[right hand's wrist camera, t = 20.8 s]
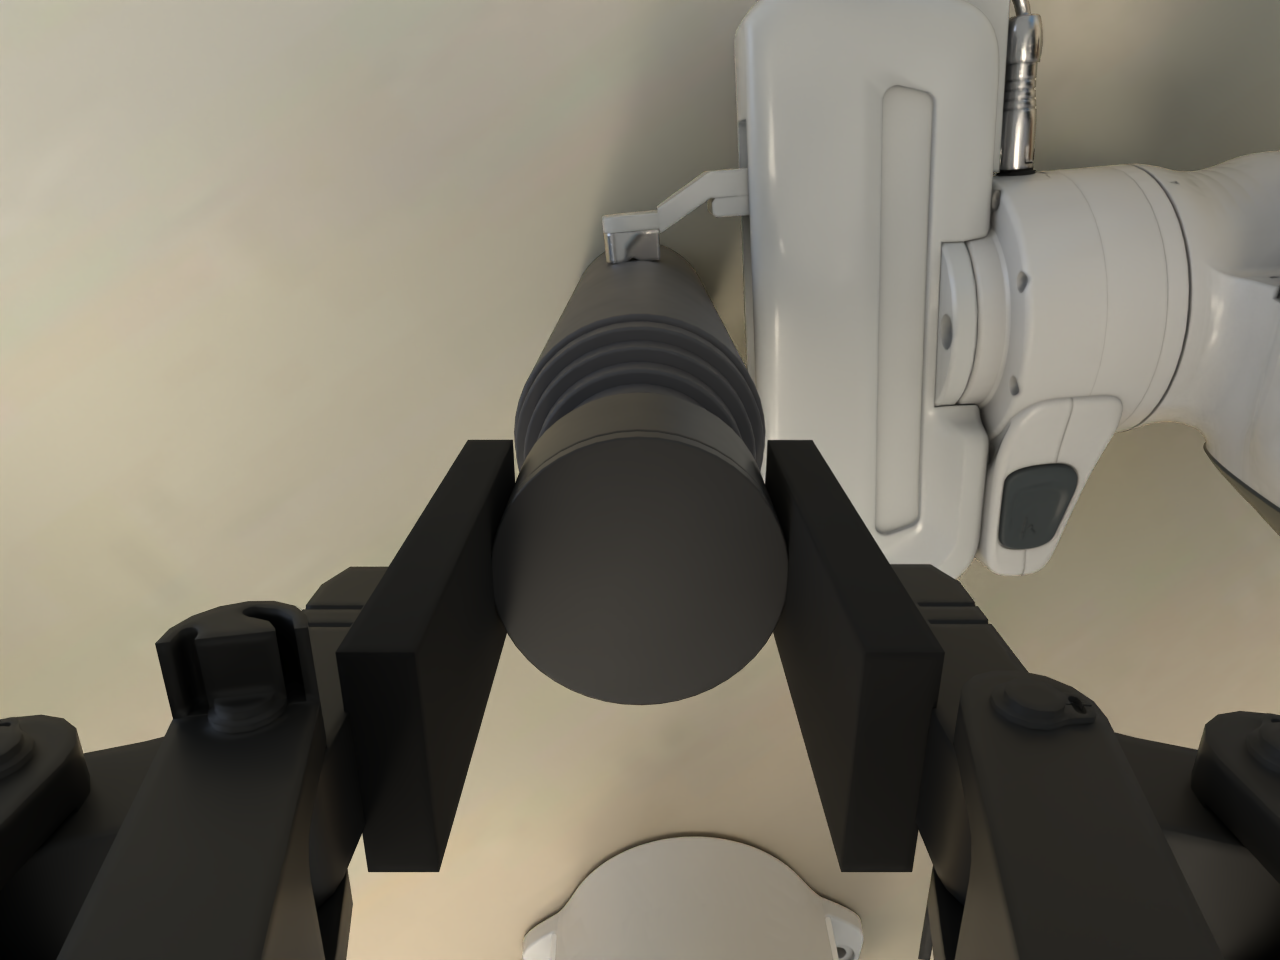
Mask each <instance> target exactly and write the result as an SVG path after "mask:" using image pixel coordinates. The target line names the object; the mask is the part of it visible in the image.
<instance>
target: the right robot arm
mask: <svg viewBox="0 0 1280 960" xmlns="http://www.w3.org/2000/svg"><path fill="white" fill-rule="evenodd" d="M514 485H515V471H514V453H513V440H468V441H467V442H466V444H465V445H464V447H463V449H462V450H461V452H460V453H459V455H458V457H457V458H456V460H455V461H454V463H453V465H452V466H451V468H450V469H449V471H448V473H447V474H446V476H445V477H444V479H443V481H442V482H441V484H440V485H439V487H438V489H437V490H436V492H435V493H434V495H433V497H432V498H431V500H430V502H429V503H428V505H427V506H426V508H425V510H424V511H423V513H422V514H421V516H420V518H419V519H418V521H417V522H416V524H415V526H414V527H413V529H412V530H411V532H410V534H409V535H408V537H407V538H406V540H405V542H404V543H403V545H402V546H401V548H400V550H399V551H398V553H397V554H396V556H395V558H394V559H393V561H392V562H391V564H390V566H389V567H349V568H347V569H346V570H344V571H343V572H341V573H339V574H338V575H336V576H335V577H333V578H331V579H330V580H328V581H327V582H325V583H323V584H322V585H321V586H320V587H319V589H318V590H317V591H316V593H315V594H314V595H313V597H312V598H311V599H310V601H309V602H308V603H307V605H306V609H303V610H302V611H301V610H300V609H298V608H297V607H296V606H294V605H289V604H285V603H281V602H276V601H247V602H241V603H236V604H230V605H225V606H219V607H217V608H214V609H211V610H208V611H205V612H202V613H199V614H196V615H194V616H191V617H189V618H188V619H186V620H184V621H182V622H181V623H179V624H177V625H175V626H174V627H172V628H170V629H169V630H168V631H167V632H166V633H165V634H164V635H163V636H162V637H161V638H160V639H159V640H158V641H157V642H156V643H155V645H156V649H157V653H158V658H159V662H160V666H161V670H162V674H163V679H164V683H165V687H166V691H167V696H168V700H169V704H170V708H171V712H172V717H173V720H172V722H171V724H170V726H169V728H168V730H167V733H166V735H165V737H161V738H157V739H153V740H149V741H145V742H140V743H135V744H130V745H125V746H119V747H114V748H109V749H104V750H99V751H94V752H89V753H84V754H83V750H82V747H81V743H80V740H79V737H78V733H77V730H76V728H75V727H74V726H73V725H71V724H70V723H69V722H68V721H66V720H65V719H64V718H58V717H52V716H45V715H34V716H24V717H10V718H5V719H1V720H0V960H346V956H347V948H348V940H349V932H350V923H351V915H352V907H353V902H352V895H351V888H350V882H349V876H348V869H347V868H348V866H349V863H350V861H351V859H352V856H353V854H354V851H355V849H356V847H357V844H358V842H359V839H360V837H361V834H363V840H364V847H365V854H366V860H367V867H368V872H439V870H440V867H441V863H442V860H443V856H444V853H445V849H446V846H447V842H448V839H449V835H450V832H451V828H452V825H453V821H454V818H455V814H456V810H457V807H458V803H459V800H460V796H461V793H462V789H463V786H464V782H465V779H466V775H467V772H468V768H469V765H470V761H471V758H472V754H473V751H474V747H475V744H476V740H477V737H478V733H479V729H480V726H481V722H482V719H483V715H484V712H485V708H486V705H487V701H488V698H489V694H490V691H491V687H492V684H493V680H494V677H495V673H496V670H497V666H498V663H499V659H500V656H501V652H502V648H503V645H504V641H505V638H506V634H507V632H506V630H505V628H504V626H503V624H502V622H501V619H500V617H499V615H498V612H497V609H496V606H495V601H494V588H493V573H492V557H491V556H492V545H493V542H494V538H495V535H496V531H497V528H498V526H499V523H500V521H501V518H502V515H503V513H504V510H505V508H506V505H507V503H508V500H509V498H510V495H511V493H512V490H513V488H514ZM765 485H766V488H767V491H768V493H769V496H770V498H771V501H772V503H773V506H774V509H775V511H776V514H777V517H778V519H779V522H780V524H781V527H782V530H783V533H784V536H785V539H786V543H787V549H788V555H789V563H788V579H787V592H786V601H785V605H784V608H783V612H782V614H781V616H780V619H779V621H778V623H777V625H776V628H775V629H774V631H773V633H774V637H775V640H776V644H777V647H778V651H779V654H780V658H781V662H782V665H783V669H784V672H785V676H786V679H787V683H788V686H789V690H790V693H791V697H792V700H793V704H794V707H795V711H796V714H797V718H798V721H799V725H800V728H801V732H802V735H803V739H804V742H805V746H806V750H807V753H808V757H809V760H810V764H811V767H812V771H813V774H814V778H815V781H816V785H817V788H818V792H819V795H820V799H821V802H822V806H823V809H824V813H825V816H826V820H827V823H828V827H829V831H830V834H831V838H832V841H833V845H834V848H835V852H836V855H837V859H838V862H839V866H840V869H841V872H912V869H913V862H914V856H915V849H916V843H917V836H918V829H919V832H920V834H921V837H922V839H923V841H924V844H925V846H926V849H927V851H928V853H929V856H930V858H931V861H932V863H933V869H932V876H931V882H930V888H929V894H928V900H927V907H926V913H925V919H924V925H923V931H922V938H921V944H920V951H919V958H918V959H922V960H930V956H931V951H932V946H933V955H934V960H1280V715H1276V714H1270V713H1256V712H1245V711H1237V712H1231V713H1225V714H1219V715H1217V716H1215V717H1214V718H1213V719H1212V720H1210V721H1209V722H1208V723H1207V724H1205V728H1204V731H1203V735H1202V738H1201V741H1200V745H1199V748H1198V750H1196V749H1190V748H1185V747H1180V746H1175V745H1170V744H1165V743H1160V742H1154V741H1149V740H1144V739H1139V738H1134V737H1130V736H1126V735H1123V734H1119V733H1115V732H1114V731H1113V729H1112V727H1111V725H1110V723H1109V721H1108V719H1107V717H1106V716H1105V715H1104V713H1103V712H1102V711H1101V710H1100V709H1099V707H1098V706H1097V705H1096V704H1095V702H1094V701H1092V700H1091V699H1089V698H1088V697H1086V696H1085V695H1083V694H1082V693H1080V692H1079V691H1077V690H1076V689H1074V688H1073V687H1071V686H1068V685H1066V684H1063V683H1061V682H1058V681H1056V680H1053V679H1051V678H1049V677H1046V676H1041V675H1036V674H1032V673H1028V671H1027V670H1026V669H1025V667H1024V666H1023V665H1022V663H1021V662H1020V661H1019V660H1018V658H1017V657H1016V656H1015V654H1014V653H1013V652H1012V650H1011V649H1010V648H1009V646H1008V645H1007V644H1006V643H1005V641H1004V640H1003V639H1002V637H1001V636H1000V635H999V633H998V632H997V631H996V629H995V628H994V627H993V626H992V624H988V619H987V618H986V616H985V615H984V614H983V612H982V611H981V610H980V608H979V607H975V602H974V601H973V599H972V598H971V597H970V595H969V594H968V593H967V591H966V590H965V589H964V588H963V586H962V585H961V584H960V582H959V581H957V580H955V579H954V578H952V577H951V576H949V575H947V574H946V573H944V572H942V571H941V570H939V569H938V568H936V567H934V566H933V565H931V564H890V563H889V562H888V560H887V559H886V557H885V555H884V554H883V552H882V551H881V549H880V547H879V546H878V544H877V543H876V541H875V539H874V538H873V536H872V535H871V533H870V531H869V530H868V528H867V527H866V525H865V523H864V522H863V520H862V519H861V517H860V515H859V514H858V512H857V511H856V509H855V507H854V506H853V504H852V503H851V501H850V499H849V498H848V496H847V495H846V493H845V491H844V490H843V488H842V487H841V485H840V483H839V482H838V480H837V479H836V477H835V475H834V474H833V472H832V471H831V469H830V467H829V466H828V464H827V463H826V461H825V459H824V458H823V456H822V455H821V453H820V451H819V450H818V448H817V447H816V445H815V443H814V442H813V440H768V441H767V458H766V476H765Z"/></svg>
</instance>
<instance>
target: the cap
mask: <svg viewBox="0 0 1280 960" xmlns="http://www.w3.org/2000/svg"><path fill="white" fill-rule="evenodd" d="M491 557H492V573H493V588H494V601H495V606H496V609H497V612H498V615H499V617H500V619H501V622H502V624H503V626H504V628H505V630H506V632H507V633H508V635H509V636H510V638H511V639H512V641H513V643H514V644H515V646H516V647H517V648H518V649H519V650H520V651H521V653H522V654H523V655H524V656H525V657H526V658H527V660H529V661H530V662H531V663H532V664H533V665H534V666H535V667H536V668H537V669H538V670H540V671H541V672H542V673H544V674H545V675H546V676H548V677H549V678H551V679H552V680H554V681H555V682H557V683H559V684H561V685H562V686H564V687H566V688H568V689H570V690H572V691H575V692H577V693H580V694H582V695H585V696H587V697H591V698H594V699H598V700H602V701H605V702H612V703H618V704H627V705H652V704H663V703H668V702H674V701H679V700H682V699H686V698H689V697H692V696H696V695H698V694H700V693H703V692H705V691H707V690H710V689H712V688H714V687H716V686H717V685H719V684H721V683H723V682H724V681H726V680H728V679H729V678H731V677H732V676H733V675H735V674H736V673H737V672H739V671H740V670H741V669H743V668H744V667H745V666H746V665H747V664H748V663H749V662H750V661H751V660H752V659H753V658H754V657H755V656H756V655H757V654H758V652H759V651H760V650H761V649H762V647H763V646H764V645H765V644H766V642H767V641H768V639H769V637H770V636H771V634H772V633H773V631H774V629H775V628H776V625H777V623H778V621H779V619H780V616H781V614H782V612H783V608H784V605H785V601H786V592H787V579H788V563H789V555H788V549H787V543H786V539H785V536H784V533H783V530H782V527H781V524H780V522H779V519H778V517H777V514H776V511H775V509H774V506H773V503H772V501H771V498H770V496H769V493H768V491H767V488H766V485H765V483H764V480H763V478H762V475H761V472H760V470H759V468H758V466H757V464H756V461H755V459H754V457H753V455H752V454H751V452H750V451H749V449H748V448H747V446H746V445H745V443H744V442H743V440H742V439H741V438H740V437H739V436H738V435H737V434H736V433H735V432H734V431H733V429H732V428H730V427H729V426H728V425H727V424H726V423H724V422H723V421H722V420H721V419H720V418H718V417H717V416H715V415H714V414H712V413H711V412H709V411H707V410H706V409H704V408H702V407H700V406H698V405H695V404H693V403H691V402H689V401H686V400H682V399H679V398H676V397H673V396H668V395H662V394H656V393H639V392H638V393H625V394H617V395H613V396H608V397H603V398H600V399H597V400H595V401H592V402H589V403H586V404H584V405H582V406H580V407H578V408H576V409H574V410H572V411H571V412H569V413H568V414H566V415H565V416H563V417H562V418H560V419H559V420H558V421H556V422H555V423H554V424H553V425H552V426H551V427H550V428H549V429H548V430H546V431H545V432H544V434H543V435H542V436H541V437H540V438H539V440H538V441H537V442H536V443H535V444H534V446H533V448H532V449H531V451H530V452H529V454H528V455H527V457H526V459H525V461H524V464H523V466H522V468H521V470H520V473H519V475H518V478H517V480H516V483H515V485H514V488H513V490H512V493H511V495H510V498H509V500H508V503H507V505H506V508H505V510H504V513H503V515H502V518H501V521H500V523H499V526H498V528H497V531H496V535H495V538H494V542H493V545H492V556H491Z"/></svg>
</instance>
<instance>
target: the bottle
mask: <svg viewBox="0 0 1280 960" xmlns="http://www.w3.org/2000/svg"><path fill="white" fill-rule="evenodd" d="M638 392H639V393H656V394H662V395H668V396H673V397H676V398H679V399H682V400H686V401H689V402H691V403H693V404H695V405H698V406H700V407H702V408H704V409H706V410H707V411H709V412H711V413H712V414H714V415H715V416H717V417H718V418H720V419H721V420H722V421H723V422H724V423H726V424H727V425H728V426H729V427H730V428H732V429H733V431H734V432H735V433H736V434H737V435H738V436H739V437H740V438H741V439H742V440H743V442H744V443H745V445H746V446H747V448H748V449H749V451H750V452H751V454H752V455H753V457H754V459H755V461H756V464H757V466H758V468H759V470H760V472H761V467H762V462H763V454H764V448H765V433H766V430H765V419H764V412H763V408H762V404H761V400H760V397H759V394H758V392H757V389H756V386H755V384H754V382H753V380H752V378H751V376H750V374H749V373H748V371H747V369H746V367H745V365H744V363H743V361H742V359H741V357H740V355H739V353H738V351H737V349H736V348H735V346H734V344H733V342H732V340H731V338H730V336H729V334H728V332H727V330H726V328H725V326H724V325H723V323H722V321H721V319H720V317H719V315H718V313H717V311H716V309H715V307H714V305H713V303H712V301H711V300H710V298H709V296H708V294H707V292H706V290H705V288H704V286H703V284H702V282H701V280H700V279H699V277H698V275H697V273H696V272H695V270H694V269H693V268H692V266H691V265H690V264H689V263H688V262H687V261H686V260H685V259H684V258H683V257H682V256H680V255H679V254H678V253H676V252H674V251H673V250H671V249H669V248H667V247H664V246H662V245H660V260H651V261H639V260H637V259H635V258H634V257H632V258H631V259H630V260H629V261H628V262H622V263H611V264H609V263H607V261H606V252H604V253H603V254H601V255H600V256H599V257H597V258H596V259H595V260H594V261H593V262H592V263H591V264H590V265H589V266H588V268H587V269H586V271H585V272H584V273H583V275H582V277H581V279H580V281H579V283H578V285H577V287H576V289H575V290H574V292H573V294H572V296H571V298H570V300H569V302H568V304H567V306H566V308H565V309H564V311H563V313H562V315H561V317H560V319H559V321H558V323H557V325H556V327H555V329H554V330H553V332H552V334H551V336H550V338H549V340H548V342H547V344H546V346H545V348H544V349H543V351H542V353H541V355H540V357H539V359H538V361H537V363H536V365H535V367H534V368H533V370H532V372H531V374H530V376H529V378H528V380H527V382H526V384H525V386H524V388H523V391H522V394H521V396H520V399H519V402H518V407H517V411H516V416H515V428H514V437H515V450H516V458H517V463H518V468H519V473H520V470H521V468H522V466H523V464H524V461H525V459H526V457H527V455H528V454H529V452H530V451H531V449H532V448H533V446H534V444H535V443H536V442H537V441H538V440H539V438H540V437H541V436H542V435H543V434H544V432H545V431H546V430H548V429H549V428H550V427H551V426H552V425H553V424H554V423H555V422H556V421H558V420H559V419H560V418H562V417H563V416H565V415H566V414H568V413H569V412H571V411H572V410H574V409H576V408H578V407H580V406H582V405H584V404H586V403H589V402H592V401H595V400H597V399H600V398H603V397H608V396H613V395H617V394H625V393H638Z"/></svg>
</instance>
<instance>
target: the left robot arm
mask: <svg viewBox="0 0 1280 960" xmlns="http://www.w3.org/2000/svg"><path fill="white" fill-rule="evenodd" d="M1012 2H1013V4H1014V8H1015V12H1016V16H1014V17H1011V18H1009V12H1010V0H758V1H757V2H756V3H755V4H754V5H753V7H752V8H751V9H750V10H749V11H748V13H747V14H746V15H745V17H744V18H743V20H742V21H741V23H740V25H739V26H738V28H737V30H736V33H735V38H734V52H735V78H736V104H737V130H738V156H739V168H734V169H724V170H713V171H704V172H703V173H702V174H700V175H699V176H697V177H696V178H695V179H693V180H692V181H691V182H689V183H688V184H686V185H685V186H684V187H682V188H681V189H680V190H678V191H677V192H675V193H674V194H673V195H671V196H670V197H668V198H667V199H666V200H664V201H663V202H662V203H660V204H659V205H657V210H651V211H640V212H628V213H617V214H610V215H604V216H603V217H602V222H603V232H604V233H603V234H604V243H605V252H606V261H607V263H609V264H611V263H622V262H628V261H629V260H630V259H631V258H632V257H634V258H635V259H637V260H639V261H651V260H660V245H659V233H660V234H661V233H662V232H664V231H665V230H667V229H668V228H669V227H671V226H672V225H674V224H675V223H676V222H678V221H679V220H681V219H682V218H684V217H685V216H686V215H688V214H689V213H691V212H692V211H693V210H695V209H696V208H698V207H699V206H701V205H702V204H703V203H705V202H706V201H707V208H708V211H709V212H710V213H711V214H712V215H714V216H715V217H728V216H741V234H742V260H743V286H744V311H745V337H746V363H747V371H748V373H749V374H750V376H751V378H752V380H753V382H754V384H755V386H756V389H757V392H758V394H759V397H760V400H761V404H762V408H763V412H764V419H765V430H766V433H765V448H764V454H763V462H762V467H761V475H762V478H763V480H764V483H765V476H766V458H767V441H768V440H813V442H814V443H815V445H816V447H817V448H818V450H819V451H820V453H821V455H822V456H823V458H824V459H825V461H826V463H827V464H828V466H829V467H830V469H831V471H832V472H833V474H834V475H835V477H836V479H837V480H838V482H839V483H840V485H841V487H842V488H843V490H844V491H845V493H846V495H847V496H848V498H849V499H850V501H851V503H852V504H853V506H854V507H855V509H856V511H857V512H858V514H859V515H860V517H861V519H862V520H863V522H864V523H865V525H866V527H867V528H868V530H869V531H870V533H871V535H872V536H873V538H874V539H875V541H876V543H877V544H878V546H879V547H880V549H881V551H882V552H883V554H884V555H885V557H886V559H887V560H888V562H889V563H890V564H931V565H933V566H934V567H936V568H938V569H939V570H941V571H942V572H944V573H946V574H947V575H949V576H951V577H952V578H954V579H955V580H956V579H957V578H958V577H960V576H961V575H962V574H963V573H964V572H965V571H966V569H967V568H968V567H969V566H970V564H971V562H972V561H973V559H974V557H975V558H976V559H977V560H978V561H980V562H981V563H982V564H983V565H984V566H986V567H987V568H988V569H989V570H990V571H992V572H993V573H995V574H998V575H1002V576H1020V575H1021V576H1022V575H1029V574H1032V573H1036V572H1038V571H1039V570H1041V569H1042V568H1043V567H1044V566H1045V565H1046V564H1047V563H1048V561H1049V560H1050V558H1051V557H1052V555H1053V553H1054V551H1055V549H1056V547H1057V544H1058V542H1059V540H1060V538H1061V535H1062V533H1063V531H1064V529H1065V526H1066V524H1067V522H1068V520H1069V518H1070V515H1071V513H1072V511H1073V509H1074V507H1075V505H1076V503H1077V501H1078V498H1079V496H1080V494H1081V492H1082V490H1083V488H1084V486H1085V484H1086V482H1087V480H1088V478H1089V476H1090V475H1091V473H1092V471H1093V469H1094V467H1095V466H1096V464H1097V462H1098V460H1099V458H1100V457H1101V455H1102V453H1103V452H1104V450H1105V448H1106V447H1107V445H1108V443H1109V442H1110V440H1111V438H1112V437H1113V435H1114V433H1115V432H1124V431H1128V430H1131V429H1134V428H1138V427H1141V426H1145V425H1148V424H1153V423H1158V422H1176V423H1181V424H1184V425H1188V426H1191V427H1193V428H1195V429H1197V430H1198V431H1200V432H1201V433H1202V435H1203V436H1204V438H1205V440H1206V442H1205V444H1204V450H1205V452H1206V454H1207V455H1208V457H1209V458H1210V460H1211V461H1212V463H1213V464H1214V465H1215V466H1216V468H1217V469H1218V470H1219V471H1220V472H1221V474H1222V475H1223V476H1224V477H1225V478H1226V479H1227V480H1228V481H1229V482H1230V484H1231V485H1232V486H1233V487H1234V488H1235V489H1236V490H1237V491H1238V492H1239V494H1240V495H1241V496H1242V497H1243V498H1244V499H1245V500H1246V501H1247V502H1248V503H1250V504H1251V505H1252V506H1253V508H1254V509H1255V510H1256V511H1257V512H1258V513H1259V514H1260V515H1261V517H1262V518H1263V519H1264V520H1265V521H1266V522H1267V523H1268V524H1269V525H1270V526H1271V527H1272V528H1273V529H1274V531H1275V532H1276V533H1277V534H1278V535H1279V536H1280V150H1278V151H1267V152H1259V153H1252V154H1248V155H1243V156H1240V157H1236V158H1233V159H1230V160H1228V161H1225V162H1222V163H1220V164H1217V165H1215V166H1212V167H1209V168H1206V169H1201V170H1197V171H1175V170H1170V169H1167V168H1163V167H1159V166H1153V165H1146V164H1120V165H1108V166H1096V167H1085V168H1073V169H1062V170H1050V171H1038V172H1036V170H1033V160H1034V150H1035V149H1034V146H1035V133H1036V109H1035V106H1036V99H1035V97H1036V90H1034V88H1035V87H1036V80H1035V78H1036V75H1037V63H1038V62H1040V58H1041V54H1042V44H1043V29H1042V21H1041V16H1040V15H1039V14H1031V11H1030V4H1029V0H1012ZM999 170H1000V173H997V175H996V176H993V172H999ZM863 941H864V936H863V930H862V923H861V920H860V918H859V916H858V915H857V914H856V913H854V912H853V911H851V910H850V909H848V908H846V907H844V906H842V905H840V904H837V903H835V902H833V901H830V900H828V899H825V898H823V897H820V896H819V895H818V894H816V893H815V892H814V891H813V890H812V889H811V888H810V887H809V886H808V885H807V884H806V883H805V882H804V881H803V880H802V879H801V878H800V877H799V876H798V875H797V874H796V873H795V872H794V871H793V870H792V869H791V868H790V867H788V866H787V865H786V864H784V863H783V862H781V861H780V860H778V859H777V858H775V857H774V856H772V855H770V854H768V853H766V852H764V851H762V850H760V849H757V848H755V847H752V846H749V845H746V844H743V843H740V842H736V841H732V840H727V839H721V838H714V837H695V836H692V837H676V838H668V839H662V840H657V841H653V842H649V843H645V844H642V845H639V846H636V847H634V848H631V849H629V850H626V851H624V852H622V853H620V854H618V855H616V856H614V857H613V858H611V859H609V860H608V861H606V862H605V863H603V864H602V865H600V866H599V867H598V868H596V869H595V870H594V871H593V872H592V873H591V874H590V875H588V876H587V878H586V879H585V880H584V881H583V882H582V883H581V884H580V885H579V887H578V888H577V889H576V891H575V892H574V894H573V895H572V897H571V898H570V900H569V901H568V903H567V904H566V905H565V906H564V907H563V909H562V910H561V911H560V912H559V913H557V914H555V915H553V916H552V917H550V918H548V919H547V920H545V921H543V922H542V923H540V924H538V925H537V926H535V927H534V928H533V929H531V930H530V931H529V932H528V933H527V934H526V935H525V937H524V939H523V953H522V957H523V960H858V959H859V956H860V952H861V949H862V945H863Z"/></svg>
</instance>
